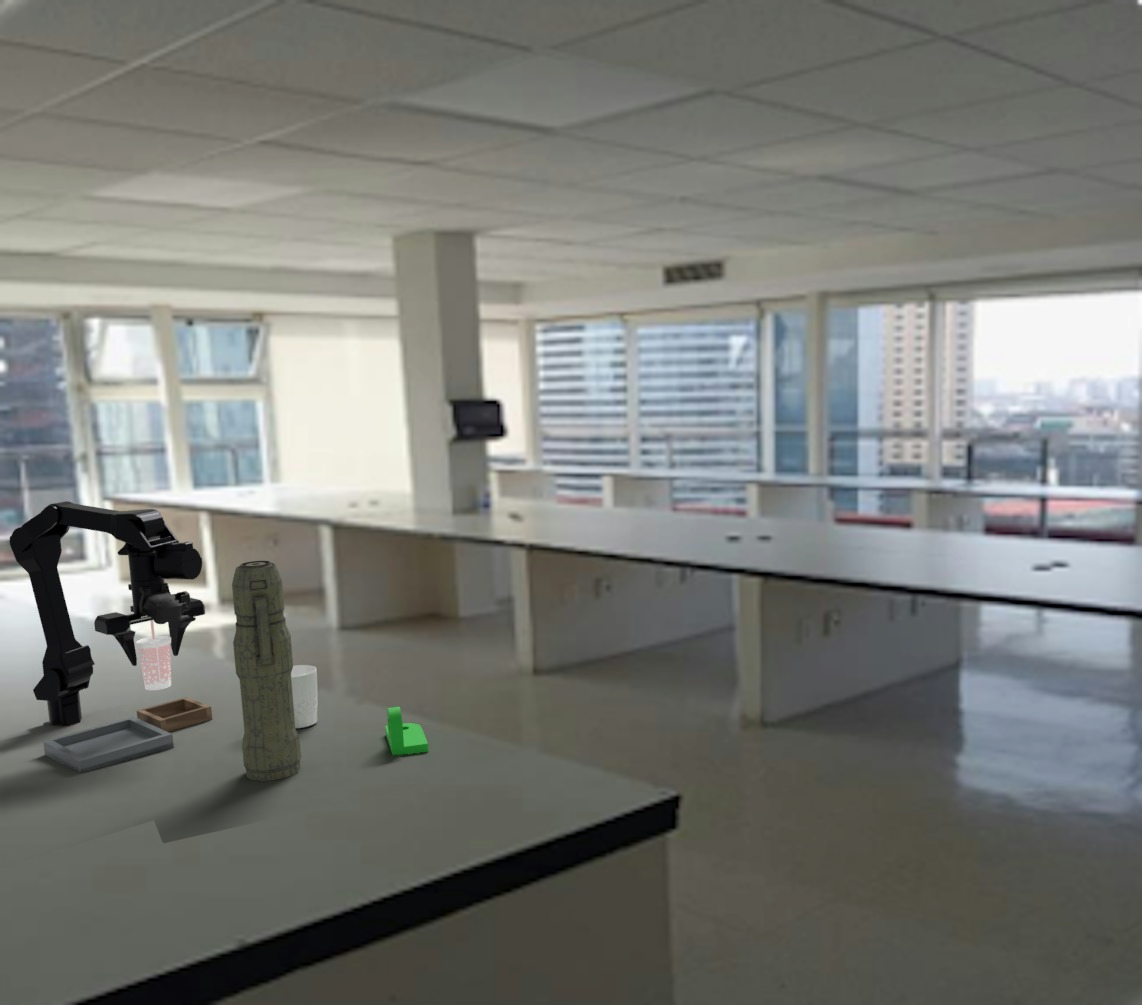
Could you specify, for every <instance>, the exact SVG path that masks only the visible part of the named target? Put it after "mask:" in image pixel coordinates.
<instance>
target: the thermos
mask: <svg viewBox="0 0 1142 1005" xmlns="http://www.w3.org/2000/svg"><path fill="white" fill-rule="evenodd" d="M283 585H284V584H283V578H282V575H281V573H280V571H279V568H278V566H277V564H276V563H275V562H272V561H270V560H252V561H246V562H241V563H240V564H239V565H238V566H236V567H235V570H234V574H233V578H232V583H231V588H232V589H231V590H232V600H233V610H234V611H233V612H234V615H235V617H236V618H235V619H236V622H235V633H234V638H233V641H232V643H233V657H234V665H235V667H234V668H235V674H236V676H237V677H238V679H239V686H240V688H239V689H240V699H241V707H242V709H241V710H242V720H243V731H244V734H243V737H242V746H241V748H242V750H241V751H242V759H243V766H244V768H245V775H246V778H247V779H250V780H251V781H259V782H262V781H263V782H265V781H268V782H269V781H275V780H276V781H277V780H281V779H285V778H288V777H291V776H293V775H295V774H298V773H299V771H301V769H302V765H301V759H302V748H301V747H302V746H301V738H300V735H299V733H298V732H297V728H295V716H294V704H293V692H292V680H291V671H292V668H293V666H294V658H293V656H294V655H293V647H292V646H293V645H292V636H291V632H290V630H289V628H288V626H287V623H286V617H285V616H284V614H285V613H284V611H285V599H284V588H283V587H284V586H283Z"/></svg>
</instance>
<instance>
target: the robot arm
mask: <svg viewBox="0 0 1142 1005" xmlns="http://www.w3.org/2000/svg"><path fill="white" fill-rule="evenodd" d="M70 527H73V528H78V529H82V530H90V531H95V532H101V533H107V534H109V535H112V537H114V539H116V540H117V541H120V542H123V543H124V545H123V546H122V547H121V548H119V550H118V551H117V554H118V556H128V566H129V574H130V575H129V576H130V583H129V584H127V587H128V590H129V591H131V595H132V596H131V597H132V598H131V599H132V605H130V606H129V608H130V612H131V614H124V613H120V612H117V611H115V612H111V613H104V614H100V615H97V616H96V617H95V619H94V622H93V623H94V631H95V632H96V633H97V632H98V633H100V634H104V635H106V636H108V635H109V636H110V635H111V636H113V637H114V638H115V640H116V641H117V643H119V645H120V646H121V648H122V650H123V652H124V653H125V655H126V657H127V659H128V661H129V662H130V664H131V665H132V666H133V667H136V666H138V665H137V664H138V661H137V660H138V658H137V650H136V646H135V645H136V643H135V635H136V631H135V630H131V625H135V624H141V623H145V622H149V621H150V620H153V623H155V624H157V625H165V624H166V623H167V625H168V632H169V637H171V643H170V649H171V653H172V655H173V656H174V657H177V656H179V653H180V649H181V644H182V641H183V638H184V634H185V632H186V629H187V627H188V626H189V625H190V624H191V623H192V622H195V621H196V619H197V618H196V617H198V616H199V617H200V616H204V615H206V608H205V604H204V601H202V600H201V599H198V598H193V597H191V595H190V593H189V592H188V591H187V590H184V591H178V592H176V593H173V594H172V593H171V591H170V587H169V586H170V585H169V583H168V582H165V580H195V579H197V578H198V577H199V576H200V574H201V573H202V568H203V559H202V558H203V557H201V555H200V553H199V551H198V550H197V549H196V548H194V544H193V542H192V541H184V542H179V539H178V538H177V537H176V535H175V534H174V532H173V531H172V529H171V528H170V527H169V525H168V524H167V523H166V521H165V520H164V517H163V516H162V514H161V512H160V511H159V510H157V509H154V508H148V509H147V508H145V509H133V510H131V509H130V510H116V509H115V510H114V509H109V508H103V507H97V506H91V505H86V504H85V505H84V504H78V503H74V502H71V501H65V500H64V501H60V502H54V503H50V504H48V505H47V506H45V507H44V508H43V510H41V511H40V512H39V513H38V514H36V515H35V516H33V517H32V518H30V519H29V520H28V521H25V522H24V523H22V525H21V526H19V527H17V528H15V529H14V530H13V531H12V533H11V535H10V536H9V545H10V548H11V551H12V553H13V556H14V558H15V561H16V563H18V564H19V565H20V566H21V567H22V568H23V570H25V571H26V572H27V574H28V577H29V580H30V583H31V587H32V591H33V595H34V599H35V600H34V601H35V603H36V608H37V611H38V615H39V619H40V623H41V624H40V625H41V627H42V630H43V635H44V638H45V644H46V648H45V652H44V656H43V658H42V661H41V663H42V672H43V676H42V677H41V679H40V680H39V681H38V683H37V684H36V685H35V686H34V688H33V689H32V690H33V694H34V697H35V698H36V701H46V703H47V704H46V705H47V712H48V721H45V722H43V723H42V725H43V726H45V725H48V724H49V725H50V726H57V727H59V726H62V727H69V726H73V725H77V724H80V723H81V720H82V719H83V715H82V706H81V696H80V691H83V690H86V689H88V688H89V685H90V682H91V677H92V675H93V674H94V667H93V666H94V665H96V663H95V661H94V660H93V658H92V651H91V648H90V645H88V644H86V645H84V646H83V645H82V644H81V643H80V642H79V641H78V640H77V639H76V636H75V634H74V629H73V626H72V625H73V624H72V622H71V618H70V614H69V609H68V607H67V606H68V605H67V602H66V599H65V598H66V597H65V594H64V589H63V586H62V581H61V578H60V574H59V569H58V566H59V561H60V559H61V555H62V552H63V551H62V543H61V540H62V539H63V537H64V536H65V535H67V534H68V533H69V530H70ZM150 622H151V621H150Z"/></svg>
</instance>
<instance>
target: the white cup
mask: <svg viewBox="0 0 1142 1005" xmlns="http://www.w3.org/2000/svg"><path fill="white" fill-rule="evenodd" d="M291 680H292V692H293V704H294V716H295V728H296V729H301V728H302V729H303V728H307V727H310V726H313V725H315V724H317V722H318V706H319V704H318V699H319V698H318V697H319V696H318V672H317V667H316V666H313V665H311V664H310V665H309V664H298V665H297V664H296V665H293V668H292V671H291Z"/></svg>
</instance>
